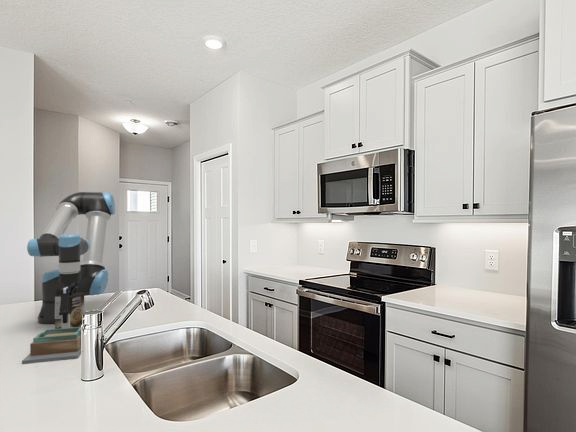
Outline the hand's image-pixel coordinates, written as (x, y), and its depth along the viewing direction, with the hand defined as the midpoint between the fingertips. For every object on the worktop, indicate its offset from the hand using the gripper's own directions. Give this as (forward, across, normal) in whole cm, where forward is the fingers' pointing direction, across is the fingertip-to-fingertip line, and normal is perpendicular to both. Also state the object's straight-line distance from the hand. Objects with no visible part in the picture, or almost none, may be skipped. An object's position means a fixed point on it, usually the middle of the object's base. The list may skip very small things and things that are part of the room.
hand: (70, 326), depth 149 cm
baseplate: (+3, +20, +2) cm, 20 cm away
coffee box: (+3, 0, 0) cm, 3 cm away
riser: (+3, +20, +2) cm, 20 cm away
